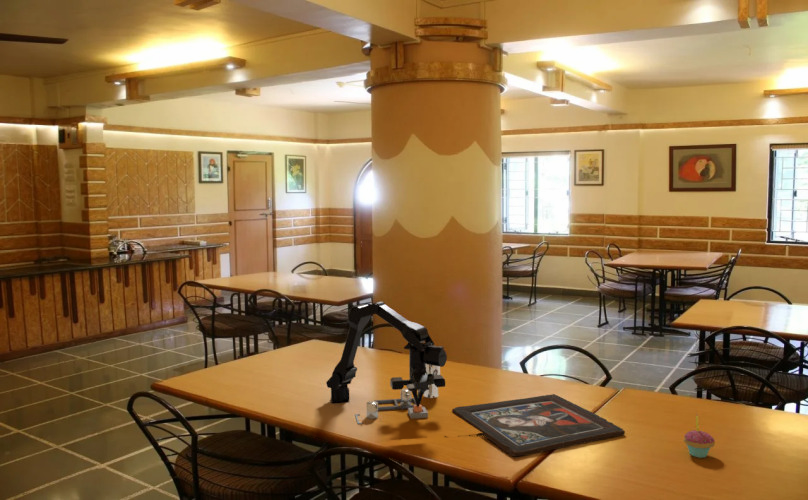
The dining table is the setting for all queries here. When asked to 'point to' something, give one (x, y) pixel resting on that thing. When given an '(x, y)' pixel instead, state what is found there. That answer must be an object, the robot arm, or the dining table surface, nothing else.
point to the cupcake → (698, 442)
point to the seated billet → (405, 397)
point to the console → (418, 413)
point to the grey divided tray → (394, 403)
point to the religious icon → (537, 424)
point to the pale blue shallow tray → (357, 419)
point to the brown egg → (417, 408)
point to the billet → (372, 410)
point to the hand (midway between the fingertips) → (417, 405)
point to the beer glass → (432, 388)
